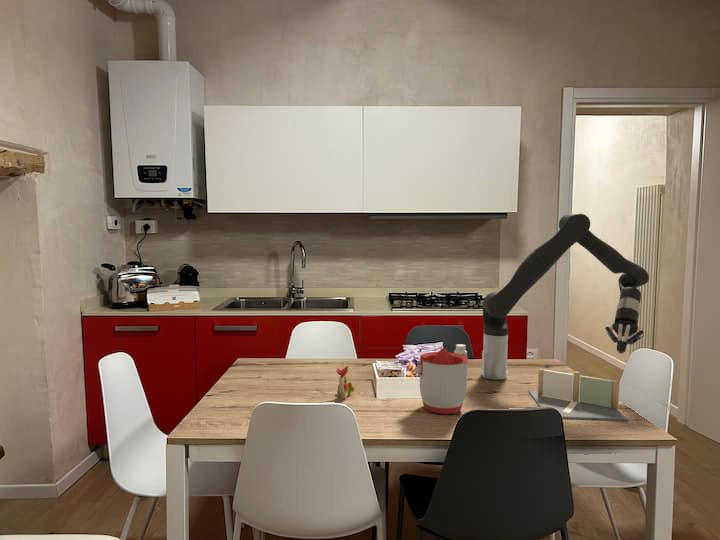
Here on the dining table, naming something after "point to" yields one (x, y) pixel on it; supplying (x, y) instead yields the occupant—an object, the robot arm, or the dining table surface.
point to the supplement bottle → (461, 349)
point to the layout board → (579, 408)
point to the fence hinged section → (599, 392)
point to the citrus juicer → (442, 381)
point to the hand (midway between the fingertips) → (620, 352)
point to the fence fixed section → (559, 384)
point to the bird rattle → (344, 384)
